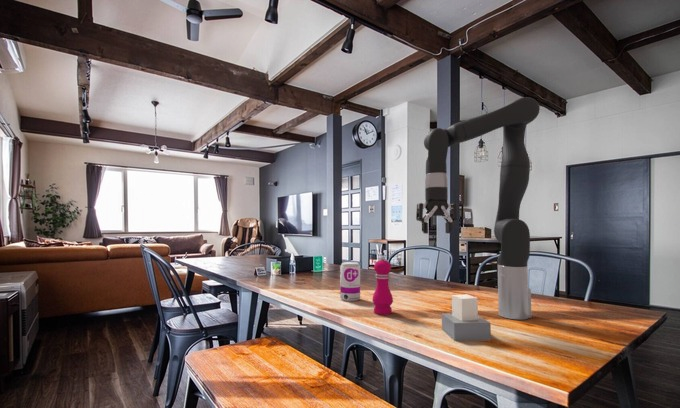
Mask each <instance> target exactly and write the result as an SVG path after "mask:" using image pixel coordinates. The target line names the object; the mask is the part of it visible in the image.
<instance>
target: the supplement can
mask: <svg viewBox="0 0 680 408" xmlns="http://www.w3.org/2000/svg"><path fill="white" fill-rule="evenodd" d="M339 269H340V273H339V274H340V278H339V279H340V280H339V281H340V285H339V286H340V287H339V288H340V291H339V292H340V293H339V294H340V295H339V296H340V299H341V300H342V301H344V302H356V301H359V300H360V298H361V266H360V264H359V262H356V261H355V262H354V261H343V262H341V264H340V267H339Z"/></svg>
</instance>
